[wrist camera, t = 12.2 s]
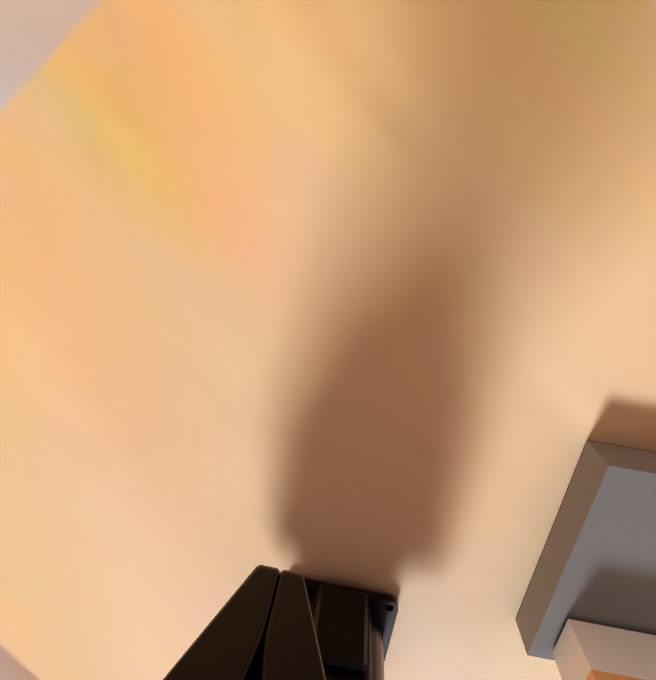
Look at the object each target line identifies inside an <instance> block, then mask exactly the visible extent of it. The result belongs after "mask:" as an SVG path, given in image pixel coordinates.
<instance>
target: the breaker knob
mask: <svg viewBox="0 0 656 680" xmlns="http://www.w3.org/2000/svg"><path fill="white" fill-rule="evenodd" d="M552 654H553V656H554V659H555V662H556V664H557V667H558V669H559V672H560V674H561V677H562V680H656V635H650V634H645V633H640V632H635V631H629V630H624V629H619V628H613V627H608V626H603V625H598V624H592V623H587V622H582V621H577V620H571V619H568V620H567V622H566V624H565V627H564V629H563V631H562V633H561V635H560V638H559V640H558V642H557V644H556V646H555V649H554V651H553V653H552Z"/></svg>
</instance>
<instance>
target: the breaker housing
mask: <svg viewBox="0 0 656 680" xmlns="http://www.w3.org/2000/svg"><path fill="white" fill-rule="evenodd" d="M568 619H571V620H577V621H582V622H587V623H592V624H598V625H603V626H608V627H613V628H619V629H624V630H629V631H635V632H640V633H645V634H650V635H656V452H652V451H646V450H640V449H634V448H628V447H622V446H616V445H611V444H605V443H599V442H593V441H587V442H586V445H585V447H584V450H583V452H582V455H581V457H580V460H579V462H578V465H577V467H576V470H575V472H574V475H573V477H572V480H571V482H570V485H569V487H568V490H567V492H566V495H565V497H564V500H563V502H562V505H561V507H560V510H559V512H558V515H557V517H556V520H555V522H554V525H553V527H552V530H551V532H550V535H549V537H548V540H547V542H546V545H545V547H544V550H543V552H542V555H541V557H540V560H539V562H538V565H537V567H536V570H535V572H534V575H533V577H532V580H531V582H530V585H529V587H528V590H527V592H526V595H525V597H524V600H523V602H522V605H521V607H520V610H519V612H518V615H517V617H516V622H517V625H518V628H519V631H520V634H521V637H522V640H523V643H524V646H525V649H526V652H527V655H530V656H535V657H540V658H545V659H550V660H555V659H554V656H553V654H552V653H553V651H554V649H555V646H556V644H557V642H558V640H559V638H560V635H561V633H562V631H563V629H564V627H565V624H566V622H567V620H568Z"/></svg>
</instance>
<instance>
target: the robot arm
mask: <svg viewBox="0 0 656 680" xmlns="http://www.w3.org/2000/svg"><path fill="white" fill-rule="evenodd" d="M397 612H398V601H397V599H396V598H395V597H394V596H391V595H386V594H381V593H375V592H370V591H365V590H360V589H355V588H349V587H344V586H339V585H334V584H328V583H323V582H318V581H313V580H307V579H304V577H303V575H302V574H300V573H296V572H292V571H287V570H283V571H281V572H280V571H279V570H278V569H277V568H273V567H269V566H264V565H259V566H257V567H256V568H255V569H254V570H253V572H252V573H251V574H250V575H249V576H248V578H247V579H246V580H245V581H244V582H243V584H242V585H241V586H240V587H239V588H238V590H237V591H236V592H235V593H234V594H233V596H232V597H231V598H230V599H229V600H228V602H227V603H226V604H225V605H224V607H223V608H222V609H221V610H220V611H219V613H218V614H217V615H216V616H215V617H214V619H213V620H212V621H211V622H210V623H209V625H208V626H207V627H206V628H205V629H204V631H203V632H202V633H201V634H200V635H199V637H198V638H197V639H196V640H195V641H194V643H193V644H192V645H191V646H190V648H189V649H188V650H187V651H186V652H185V654H184V655H183V656H182V657H181V658H180V660H179V661H178V662H177V663H176V664H175V666H174V667H173V668H172V669H171V670H170V672H169V673H168V674H167V675H166V676H165V678H164V679H163V680H384V661H385V657H386V653H387V649H388V646H389V642H390V638H391V634H392V631H393V627H394V623H395V619H396V616H397Z"/></svg>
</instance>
